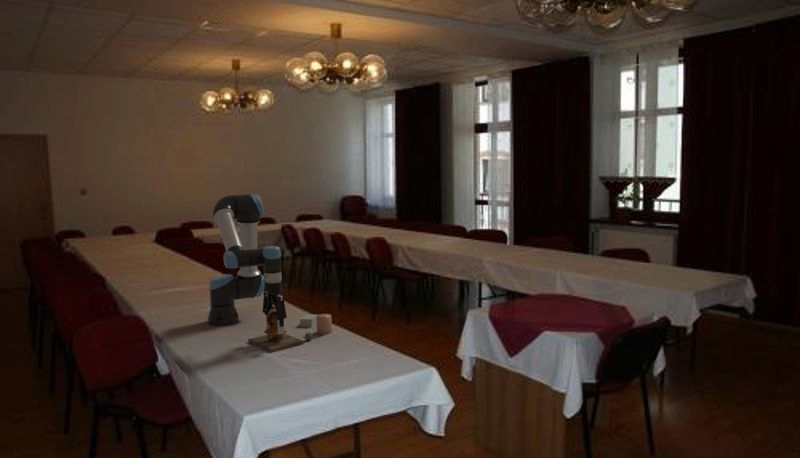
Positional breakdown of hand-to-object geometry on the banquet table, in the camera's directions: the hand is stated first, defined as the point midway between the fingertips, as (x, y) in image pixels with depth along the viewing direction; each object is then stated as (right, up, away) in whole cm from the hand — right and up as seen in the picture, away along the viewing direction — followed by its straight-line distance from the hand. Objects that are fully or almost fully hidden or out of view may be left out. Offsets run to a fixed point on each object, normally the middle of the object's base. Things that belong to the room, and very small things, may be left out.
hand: (275, 331), depth 260 cm
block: (+11, -2, +30) cm, 32 cm away
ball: (+14, -5, +4) cm, 16 cm away
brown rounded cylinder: (+20, -3, +16) cm, 26 cm away
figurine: (0, -3, 0) cm, 3 cm away
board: (0, -5, +1) cm, 5 cm away
